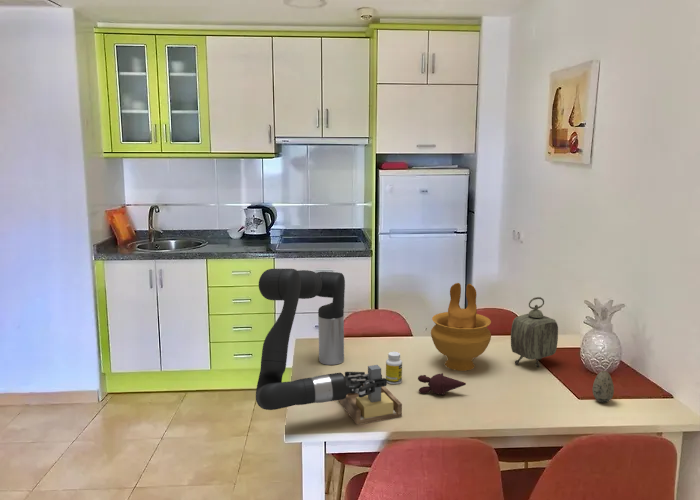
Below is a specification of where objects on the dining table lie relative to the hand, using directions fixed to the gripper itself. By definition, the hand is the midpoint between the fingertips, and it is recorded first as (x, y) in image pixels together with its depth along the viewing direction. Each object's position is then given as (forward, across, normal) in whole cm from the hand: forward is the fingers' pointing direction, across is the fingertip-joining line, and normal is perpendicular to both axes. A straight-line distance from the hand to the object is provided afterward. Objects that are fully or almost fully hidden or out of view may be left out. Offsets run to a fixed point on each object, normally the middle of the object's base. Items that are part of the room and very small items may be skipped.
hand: (383, 379), depth 166 cm
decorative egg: (+66, -16, +11) cm, 69 cm away
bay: (-3, +5, +10) cm, 12 cm away
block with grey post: (-3, 0, +9) cm, 10 cm away
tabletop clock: (+65, +16, +11) cm, 68 cm away
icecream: (+23, +6, +11) cm, 26 cm away
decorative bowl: (+40, +25, +11) cm, 48 cm away
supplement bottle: (+12, +20, +11) cm, 26 cm away
